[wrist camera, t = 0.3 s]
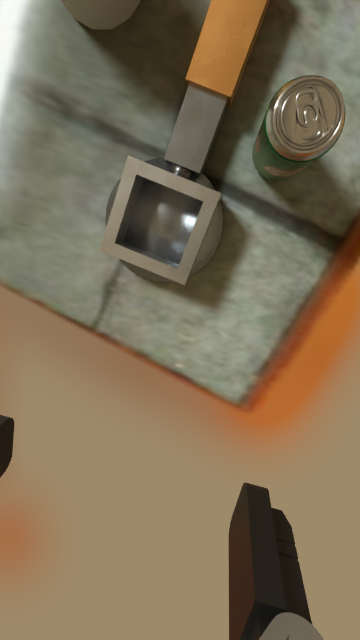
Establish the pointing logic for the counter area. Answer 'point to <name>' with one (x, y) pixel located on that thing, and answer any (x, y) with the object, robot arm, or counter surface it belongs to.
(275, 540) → the robot arm
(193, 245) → the ratchet
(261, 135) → the soda can
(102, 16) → the cup
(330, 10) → the counter surface
